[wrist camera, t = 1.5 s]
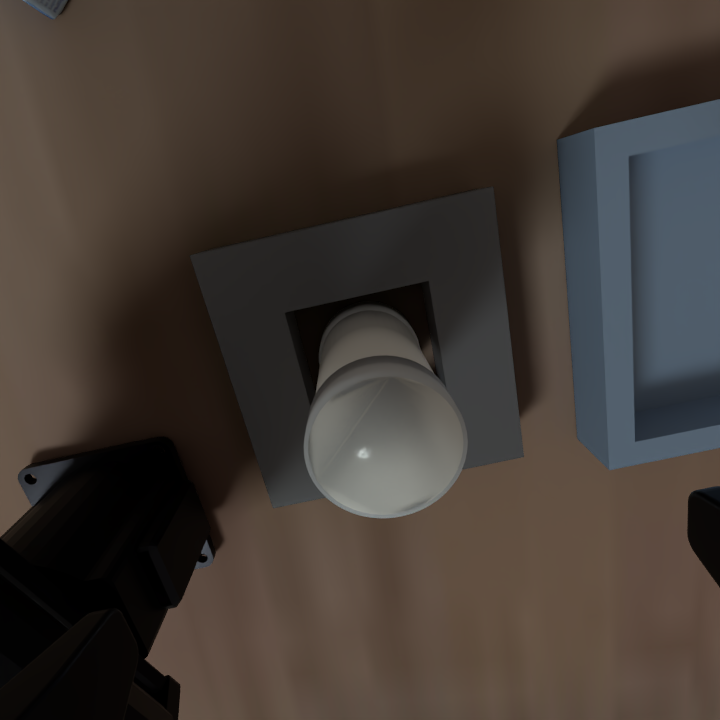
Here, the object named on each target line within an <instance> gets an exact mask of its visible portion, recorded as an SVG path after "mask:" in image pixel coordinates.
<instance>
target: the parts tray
mask: <svg viewBox="0 0 720 720" xmlns="http://www.w3.org/2000/svg"><path fill="white" fill-rule="evenodd" d="M557 149H558V164H559V178H560V193H561V207H562V222H563V236H564V251H565V266H566V280H567V295H568V309H569V324H570V338H571V353H572V367H573V382H574V397H575V411H576V426H577V439H578V440H579V441H580V442H581V443H582V444H583V445H584V446H585V447H586V448H587V449H588V450H589V451H590V452H591V453H592V454H593V455H594V456H595V457H596V458H597V459H598V460H600V461H601V462H602V463H603V464H604V465H605V466H606V467H607V468H608V469H609V470H613V469H618V468H623V467H627V466H632V465H637V464H642V463H647V462H652V461H657V460H662V459H667V458H672V457H677V456H682V455H687V454H692V453H697V452H701V451H706V450H711V449H716V448H720V99H718V100H714V101H710V102H705V103H701V104H697V105H692V106H688V107H684V108H679V109H675V110H671V111H666V112H662V113H658V114H653V115H649V116H644V117H640V118H636V119H631V120H627V121H623V122H618V123H614V124H610V125H605V126H601V127H597V128H593V129H590V130H587V131H583V132H580V133H577V134H574V135H571V136H568V137H565V138H561V139H558V140H557Z"/></svg>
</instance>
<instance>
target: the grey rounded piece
mask: <svg viewBox="0 0 720 720" xmlns="http://www.w3.org/2000/svg"><path fill="white" fill-rule="evenodd" d="M319 364H320V368H319V374H318V381H317V387H316V394H315V396H314V398H313V401H312V403H311V406H310V410H309V414H308V420H307V425H306V431H305V437H304V458H305V463H306V467H307V470H308V472H309V475H310V477H311V479H312V480H313V482H314V484H315V485H316V487H317V488H318V489H319V491H320V492H321V493H322V494H323V495H324V496H325V497H326V498H327V499H329V500H330V501H331V502H333V503H334V504H335V505H337V506H339V507H340V508H342V509H344V510H346V511H349V512H351V513H354V514H357V515H360V516H365V517H371V518H394V517H401V516H405V515H408V514H412V513H414V512H417V511H420V510H422V509H424V508H426V507H428V506H429V505H431V504H432V503H434V502H435V501H437V500H438V499H439V498H441V497H442V496H443V495H444V494H445V493H446V492H447V491H448V490H449V489H450V488H451V487H452V485H453V484H454V482H455V481H456V480H457V478H458V476H459V474H460V472H461V471H462V468H463V465H464V463H465V459H466V454H467V446H468V439H467V431H466V426H465V422H464V420H463V417H462V415H461V413H460V411H459V409H458V408H457V406H456V404H455V402H454V401H453V399H452V397H451V395H450V394H449V392H448V390H447V388H446V387H445V385H444V384H443V383H442V381H441V380H440V379H439V378H438V377H437V376H436V375H435V374H434V373H433V371H432V369H431V367H430V365H429V363H428V362H427V360H426V358H425V356H424V354H423V352H422V351H421V349H420V345H419V341H418V339H417V336H416V334H415V332H414V330H413V329H412V327H411V325H410V324H409V322H408V320H407V319H406V318H405V317H404V316H403V315H402V314H401V313H400V312H399V311H398V310H396V309H395V308H393V307H391V306H389V305H387V304H384V303H380V302H374V301H363V302H357V303H354V304H351V305H349V306H346V307H345V308H343V309H341V310H340V311H339V312H337V313H336V314H335V315H334V316H333V317H332V318H331V319H330V321H329V322H328V324H327V325H326V327H325V329H324V332H323V334H322V339H321V344H320V349H319Z"/></svg>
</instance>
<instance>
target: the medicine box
mask: <svg viewBox="0 0 720 720" xmlns="http://www.w3.org/2000/svg"><path fill="white" fill-rule="evenodd" d="M23 1H24V2H26V3H27V4H29V5H31V6H32V7H34V8H35V9H37V10H38V11H39V12H41V13H43V14H44V15H46V16H47V17H49V18H51V19H55V18H56V17H57V16H58V15H59V14H60V13H61V12H62V10H63V8H64V6H65V5H66V3H67V1H68V0H23Z"/></svg>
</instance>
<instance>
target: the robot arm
mask: <svg viewBox="0 0 720 720" xmlns="http://www.w3.org/2000/svg"><path fill="white" fill-rule="evenodd" d="M156 447H161V448H163V449H164V450H165V453H161V452H159V451H158V450H157V449H156ZM31 474H32V475H34V476H35V477H36V478H37V479H35V478H33V477H32V476H31ZM18 480H19V483H20V484H21V486H22V488H23V490H24V492H25V494H26V496H27V498H28V499H29V501H30V503H31V505H32V507H31V508H30V509H29V510H28V511H27V512H26V513H25V514H24V515H23V516H22V517H21V518H20V519H19V520H18V521H17V522H16V523H15V524H14V525H13V526H12V527H11V528H10V529H9V530H8V531H6V532H5V533H4V534H3V535H2V536H1V537H0V720H178V713H179V699H180V684H179V683H178V682H176V681H175V680H174V679H173V678H172V677H171V676H169V675H167V676H164V675H163V674H161V673H160V672H159V671H158V670H157V669H155V668H154V667H153V666H152V665H151V664H150V663H148V662H147V661H146V660H145V658H146V657H147V656H148V654H149V652H150V650H151V647H152V645H153V643H154V640H155V638H156V636H157V634H158V631H159V629H160V627H161V624H162V622H163V620H164V618H165V615H166V613H167V611H168V609H170V608H175V607H177V606H178V604H179V603H180V601H181V600H182V597H183V595H184V593H185V590H186V588H187V585H188V583H189V581H190V578H191V576H192V573H193V571H194V569H198V568H203V567H207V566H209V565H211V564H212V562H213V559H214V557H215V554H216V551H215V548H214V545H213V543H212V540H211V538H210V535H209V532H210V525H209V523H208V520H207V518H206V515H205V513H204V510H203V507H202V505H201V502H200V500H199V497H198V495H197V492H196V489H195V487H194V484H193V483H192V482H191V481H190V480H188V479H187V477H186V474H185V471H184V469H183V466H182V464H181V461H180V459H179V456H178V454H177V451H176V449H175V446H174V444H173V442H172V441H171V440H170V439H168V438H166V437H155V438H150V439H146V440H141V441H136V442H132V443H127V444H122V445H118V446H113V447H108V448H103V449H99V450H94V451H89V452H85V453H80V454H75V455H71V456H66V457H61V458H56V459H52V460H47V461H42V462H38V463H33V464H30V465H28V466H26V467H25V468H24V469H23V470H21V472H20V473H19V474H18ZM687 534H688V540H689V543H690V545H691V547H692V549H693V551H694V552H695V554H696V555H697V557H698V558H699V560H700V561H701V562H702V564H703V565H704V566H705V568H706V569H707V571H708V572H709V573H710V575H711V576H712V577H713V579H714V580H715V582H716V583H717V584H718V586H719V587H720V486H717V487H710V488H705V489H700V490H696V491H693V492H692V493H691V494H690V496H689V498H688V529H687ZM200 554H205V555H206V556H202V555H200Z"/></svg>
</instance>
